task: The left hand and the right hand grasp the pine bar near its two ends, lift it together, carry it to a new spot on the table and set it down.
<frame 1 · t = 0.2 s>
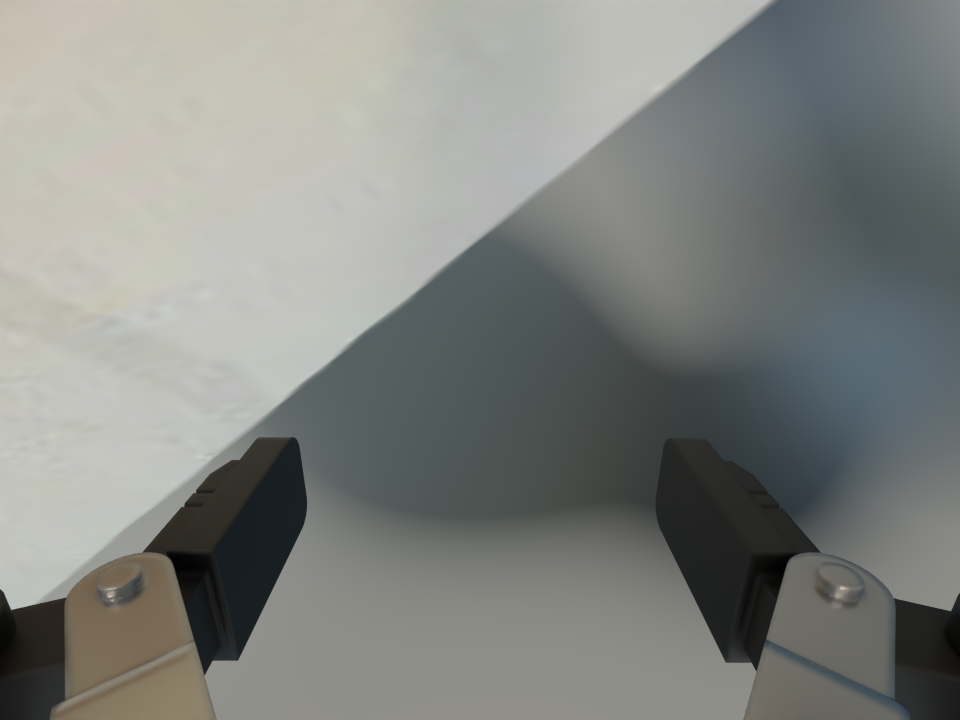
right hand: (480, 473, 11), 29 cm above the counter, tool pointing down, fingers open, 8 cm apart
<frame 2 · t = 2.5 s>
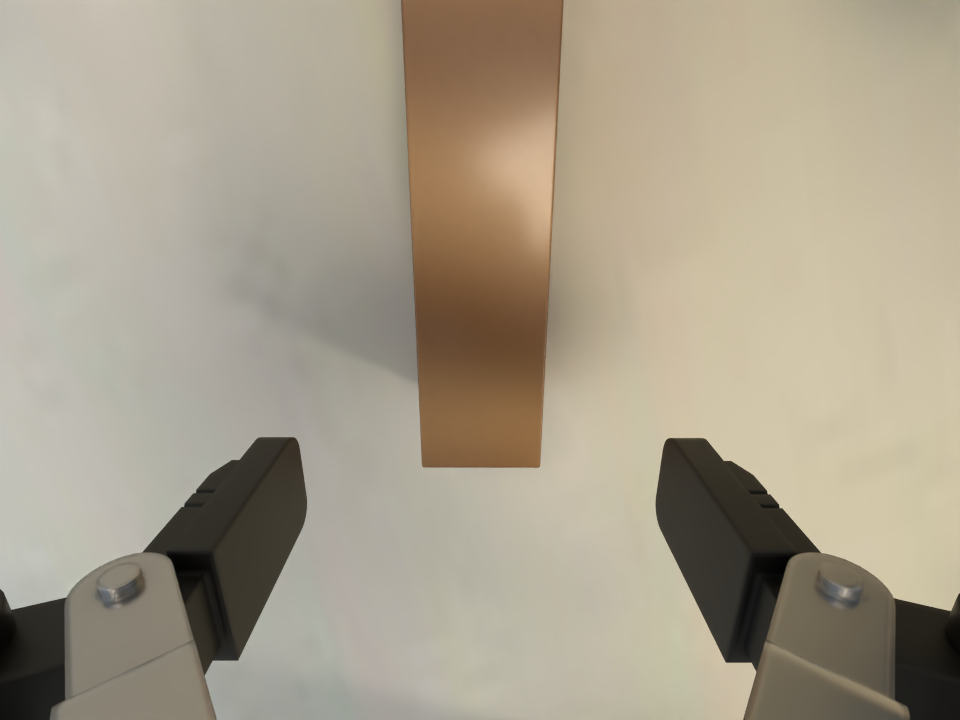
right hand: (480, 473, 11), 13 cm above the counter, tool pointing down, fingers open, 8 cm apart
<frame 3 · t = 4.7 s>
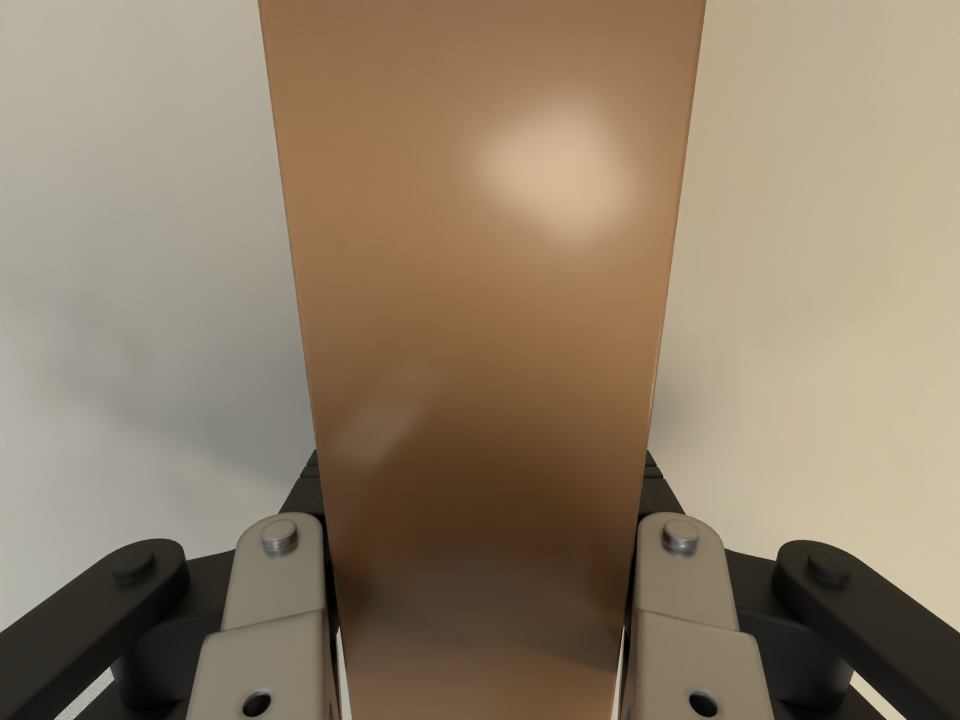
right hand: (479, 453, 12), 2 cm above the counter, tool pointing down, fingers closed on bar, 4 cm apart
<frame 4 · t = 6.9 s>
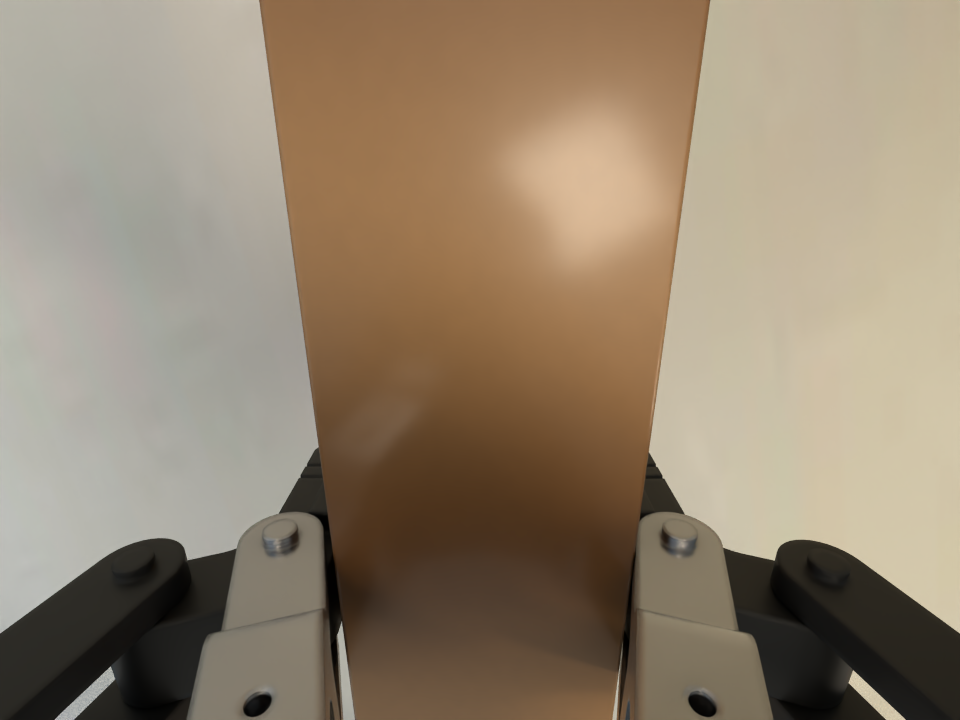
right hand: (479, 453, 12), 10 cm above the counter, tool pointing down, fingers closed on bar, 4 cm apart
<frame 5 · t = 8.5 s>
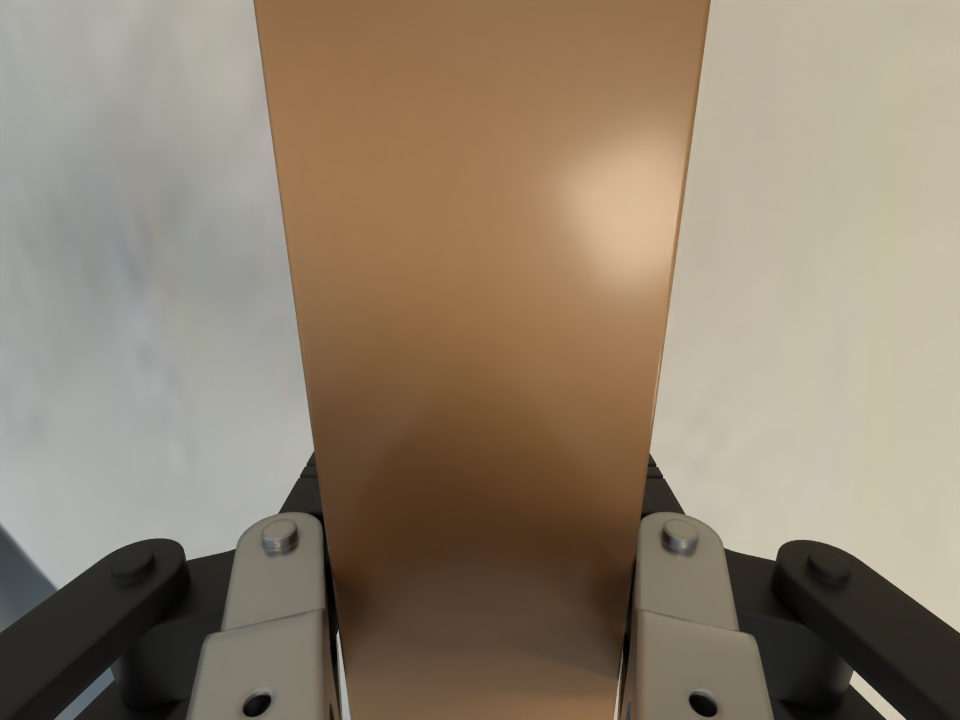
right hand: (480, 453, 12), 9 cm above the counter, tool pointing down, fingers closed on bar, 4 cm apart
when the left hand's fingers open (2 cm above the counter, at t = 9.3 s): bar drops 1 cm, on the counter.
when the right hand's fingers open (3 cm above the counter, at t = 9.5 s): bar stays where it is, on the counter.
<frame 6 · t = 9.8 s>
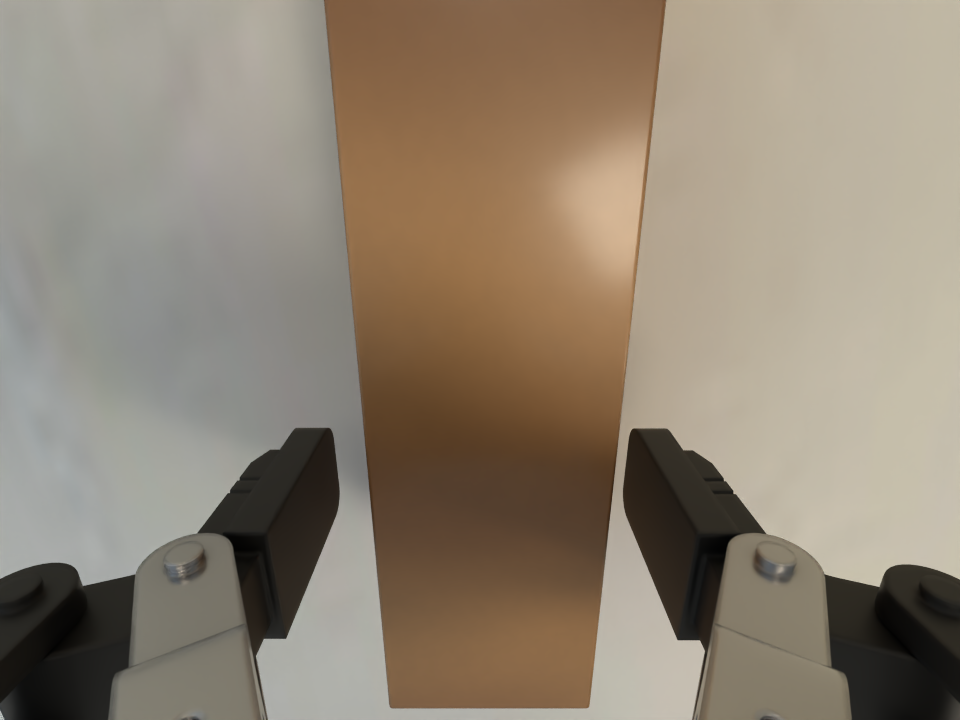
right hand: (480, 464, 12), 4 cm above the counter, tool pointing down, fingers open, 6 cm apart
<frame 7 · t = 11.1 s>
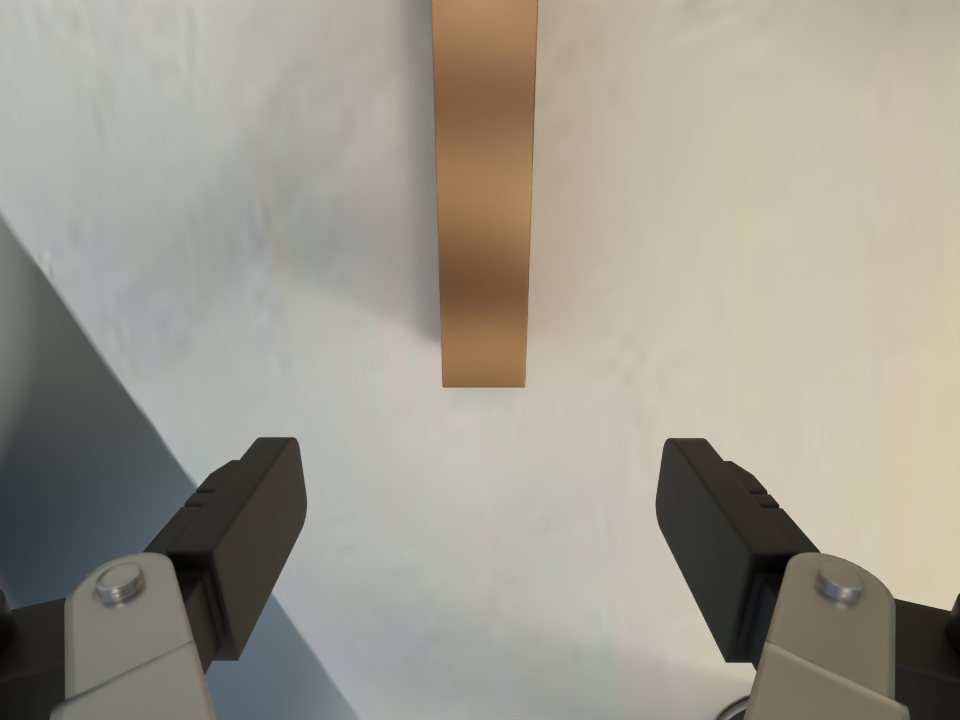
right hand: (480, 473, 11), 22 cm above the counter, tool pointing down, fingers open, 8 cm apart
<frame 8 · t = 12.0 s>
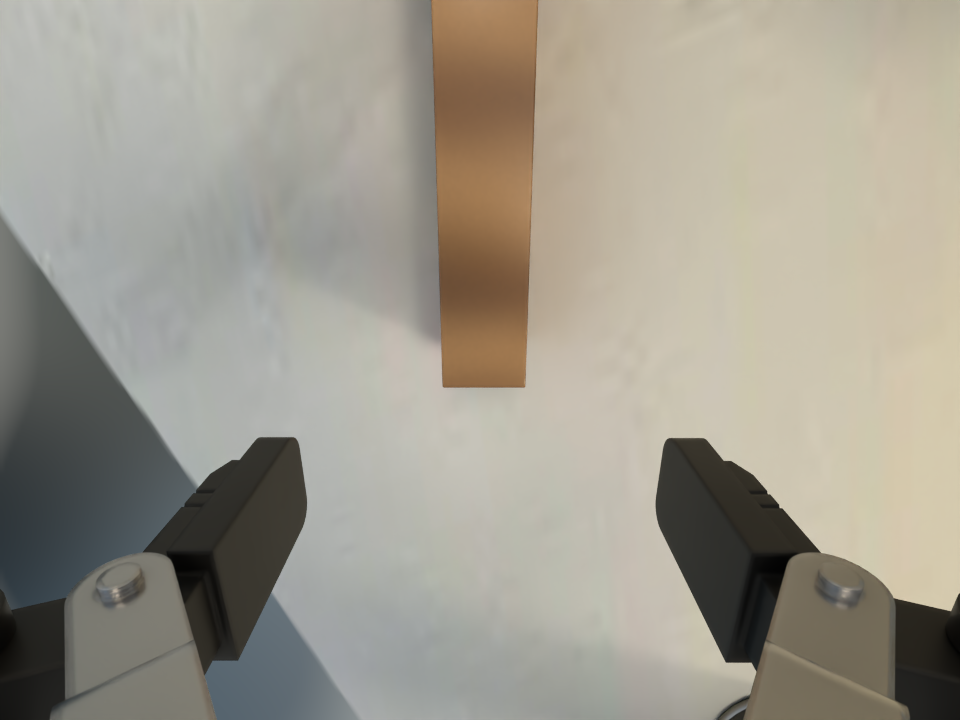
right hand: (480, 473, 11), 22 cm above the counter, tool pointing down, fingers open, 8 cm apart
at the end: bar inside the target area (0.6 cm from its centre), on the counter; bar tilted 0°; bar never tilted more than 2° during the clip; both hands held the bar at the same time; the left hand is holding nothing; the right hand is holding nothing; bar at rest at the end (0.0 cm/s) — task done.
